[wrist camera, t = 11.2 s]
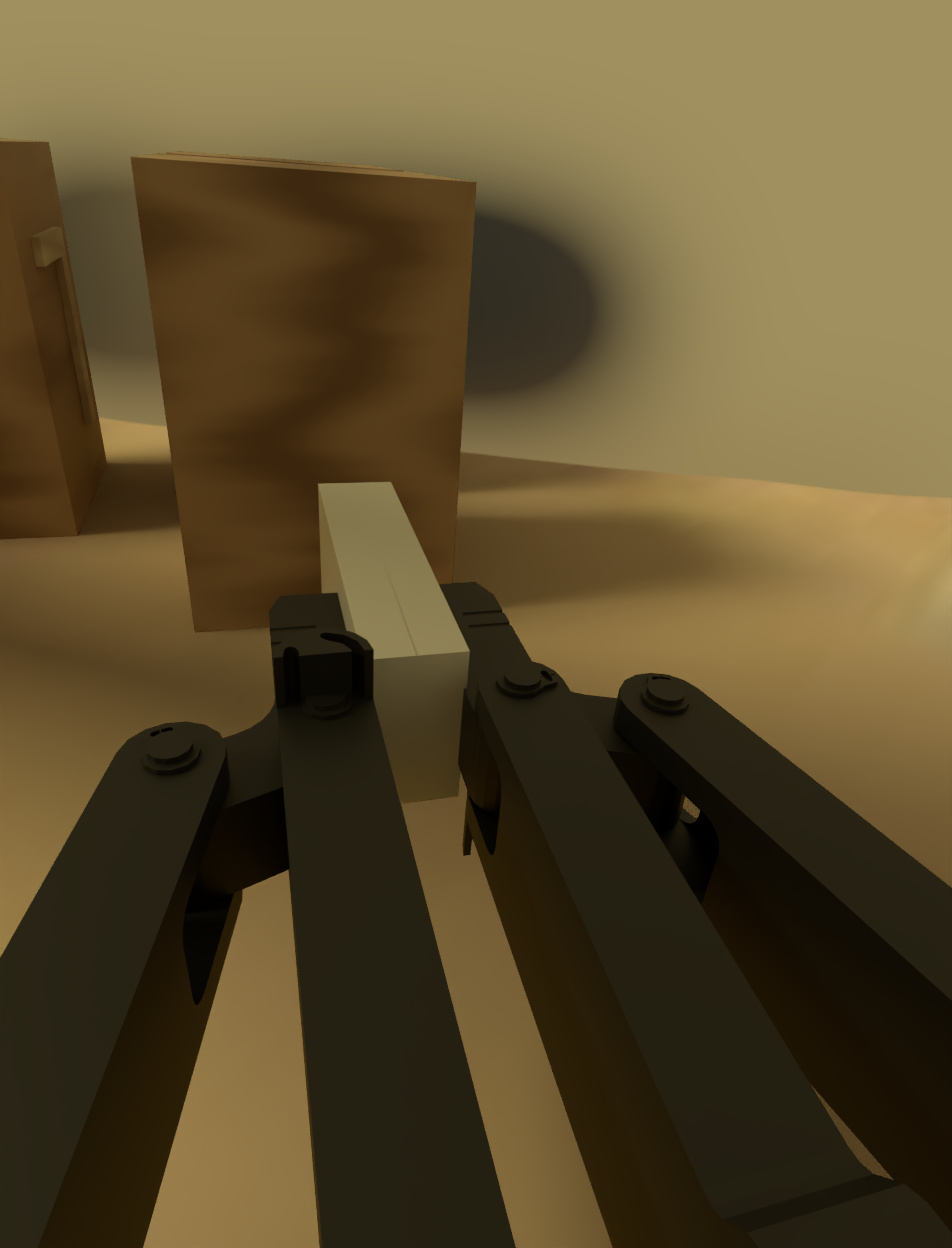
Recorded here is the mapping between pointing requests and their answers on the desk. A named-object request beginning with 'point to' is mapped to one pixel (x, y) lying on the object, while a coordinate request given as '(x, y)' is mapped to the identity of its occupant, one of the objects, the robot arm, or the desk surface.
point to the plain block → (302, 359)
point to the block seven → (41, 359)
